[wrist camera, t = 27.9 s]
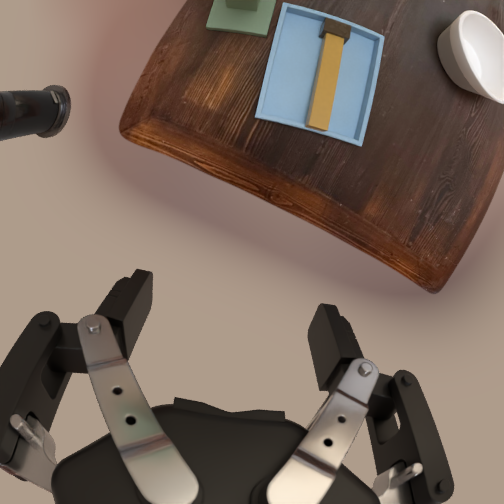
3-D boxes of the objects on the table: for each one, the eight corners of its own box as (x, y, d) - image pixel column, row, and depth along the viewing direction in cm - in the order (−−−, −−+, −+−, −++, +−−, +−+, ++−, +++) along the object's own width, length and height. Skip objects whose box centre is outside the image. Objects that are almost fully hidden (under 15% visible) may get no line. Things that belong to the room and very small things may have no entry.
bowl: (457, 114, 37) (492, 118, 27) (410, 31, 31) (441, 18, 21) (497, 87, 32) (528, 88, 22) (458, 14, 25) (487, 5, 16)
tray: (254, 117, 40) (254, 117, 38) (281, 9, 31) (283, 2, 28) (355, 145, 42) (361, 146, 39) (377, 40, 33) (384, 36, 30)
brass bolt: (300, 125, 38) (304, 123, 35) (320, 24, 32) (325, 16, 29) (327, 133, 38) (333, 131, 35) (345, 32, 32) (351, 25, 29)
